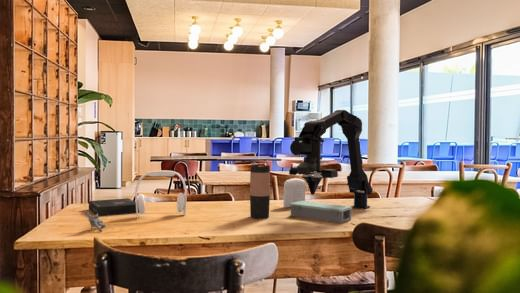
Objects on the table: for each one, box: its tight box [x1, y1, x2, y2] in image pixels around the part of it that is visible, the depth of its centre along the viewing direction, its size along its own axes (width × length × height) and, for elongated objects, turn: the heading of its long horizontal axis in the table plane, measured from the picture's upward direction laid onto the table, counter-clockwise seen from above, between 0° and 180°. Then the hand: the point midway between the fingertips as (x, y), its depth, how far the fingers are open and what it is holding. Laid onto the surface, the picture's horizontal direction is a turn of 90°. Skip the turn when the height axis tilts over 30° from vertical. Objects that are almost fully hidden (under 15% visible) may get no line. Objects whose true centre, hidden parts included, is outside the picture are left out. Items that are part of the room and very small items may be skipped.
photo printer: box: [283, 177, 306, 208], centre depth 209 cm, size 10×4×12 cm, turn 123°
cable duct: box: [290, 206, 352, 224], centre depth 185 cm, size 8×22×4 cm, turn 55°
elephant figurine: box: [83, 210, 107, 233], centre depth 160 cm, size 10×6×9 cm
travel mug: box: [249, 164, 271, 220], centre depth 184 cm, size 8×8×20 cm
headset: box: [134, 169, 188, 220], centre depth 184 cm, size 20×7×18 cm, turn 108°
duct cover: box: [290, 200, 353, 215], centre depth 184 cm, size 9×22×2 cm, turn 55°
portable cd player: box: [88, 197, 140, 217], centre depth 195 cm, size 16×17×4 cm
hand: (312, 194), depth 185 cm, fingers closed
